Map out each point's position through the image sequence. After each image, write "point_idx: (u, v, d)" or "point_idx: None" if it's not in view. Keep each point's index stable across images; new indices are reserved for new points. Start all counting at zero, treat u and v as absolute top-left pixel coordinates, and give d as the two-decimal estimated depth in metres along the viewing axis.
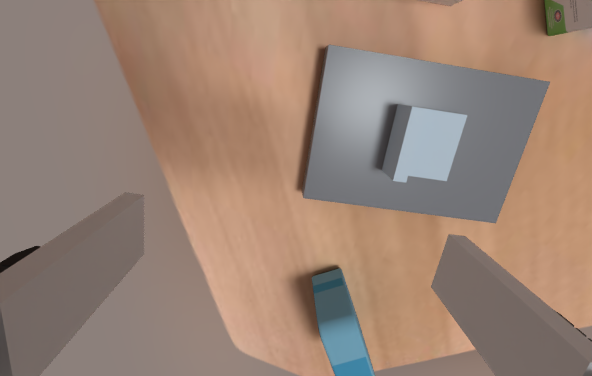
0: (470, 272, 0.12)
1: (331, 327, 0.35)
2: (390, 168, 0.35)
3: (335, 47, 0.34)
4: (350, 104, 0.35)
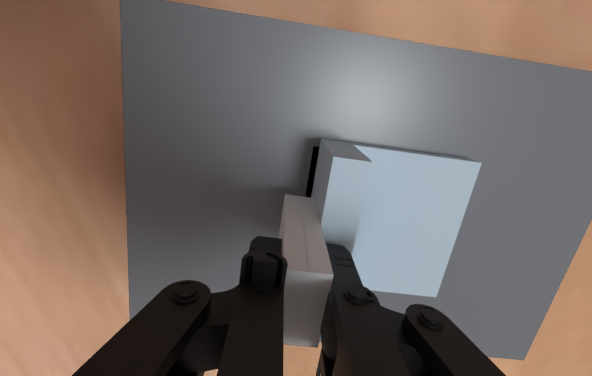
0: None
1: None
2: None
3: (138, 0, 0.14)
4: (198, 137, 0.15)
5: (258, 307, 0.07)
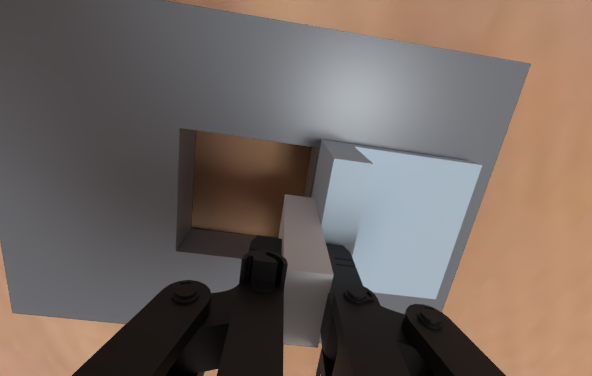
0: None
1: None
2: None
3: None
4: (57, 118, 0.15)
5: (258, 307, 0.07)
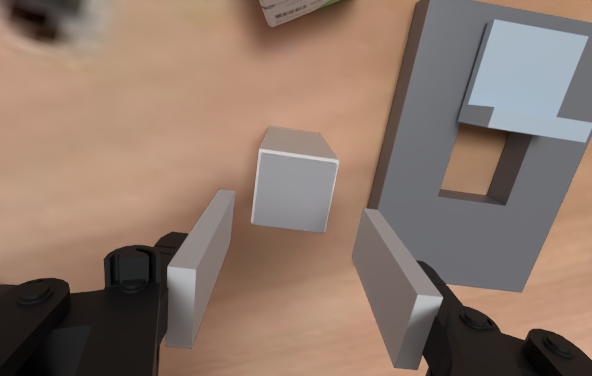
0: (370, 238, 0.13)
1: None
2: None
3: None
4: (424, 250, 0.31)
5: (128, 308, 0.07)
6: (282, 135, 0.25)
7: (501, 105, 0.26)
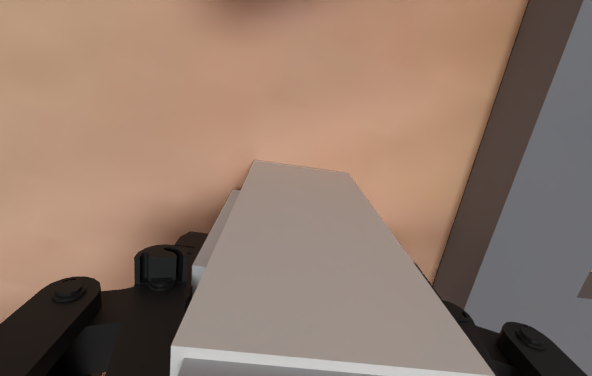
0: None
1: None
2: None
3: None
4: None
5: (156, 305, 0.07)
6: (276, 198, 0.11)
7: None
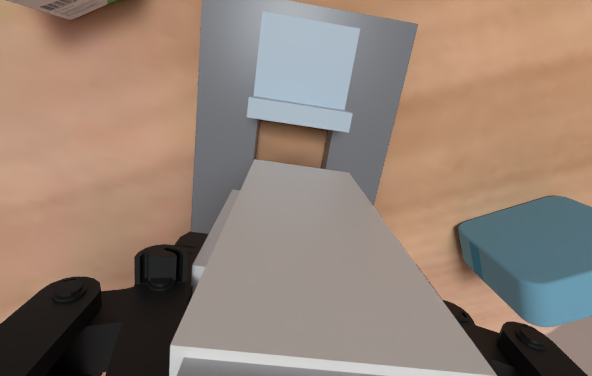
0: None
1: (530, 311, 0.25)
2: None
3: None
4: None
5: (156, 305, 0.07)
6: (276, 197, 0.11)
7: (287, 96, 0.26)
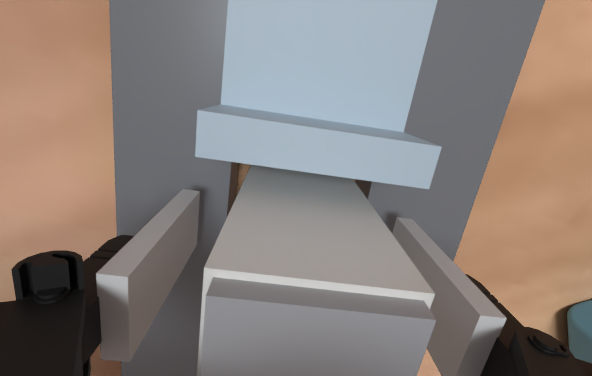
0: (409, 249, 0.13)
1: None
2: None
3: None
4: None
5: (44, 320, 0.06)
6: (277, 181, 0.13)
7: (289, 106, 0.13)
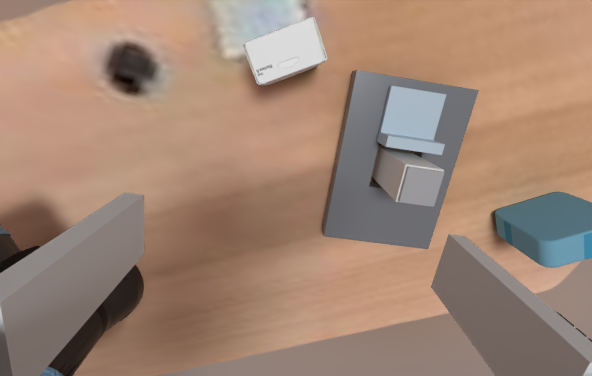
0: (470, 272, 0.12)
1: (544, 258, 0.44)
2: None
3: (325, 232, 0.50)
4: (363, 220, 0.50)
5: None
6: (397, 154, 0.44)
7: (400, 132, 0.45)
